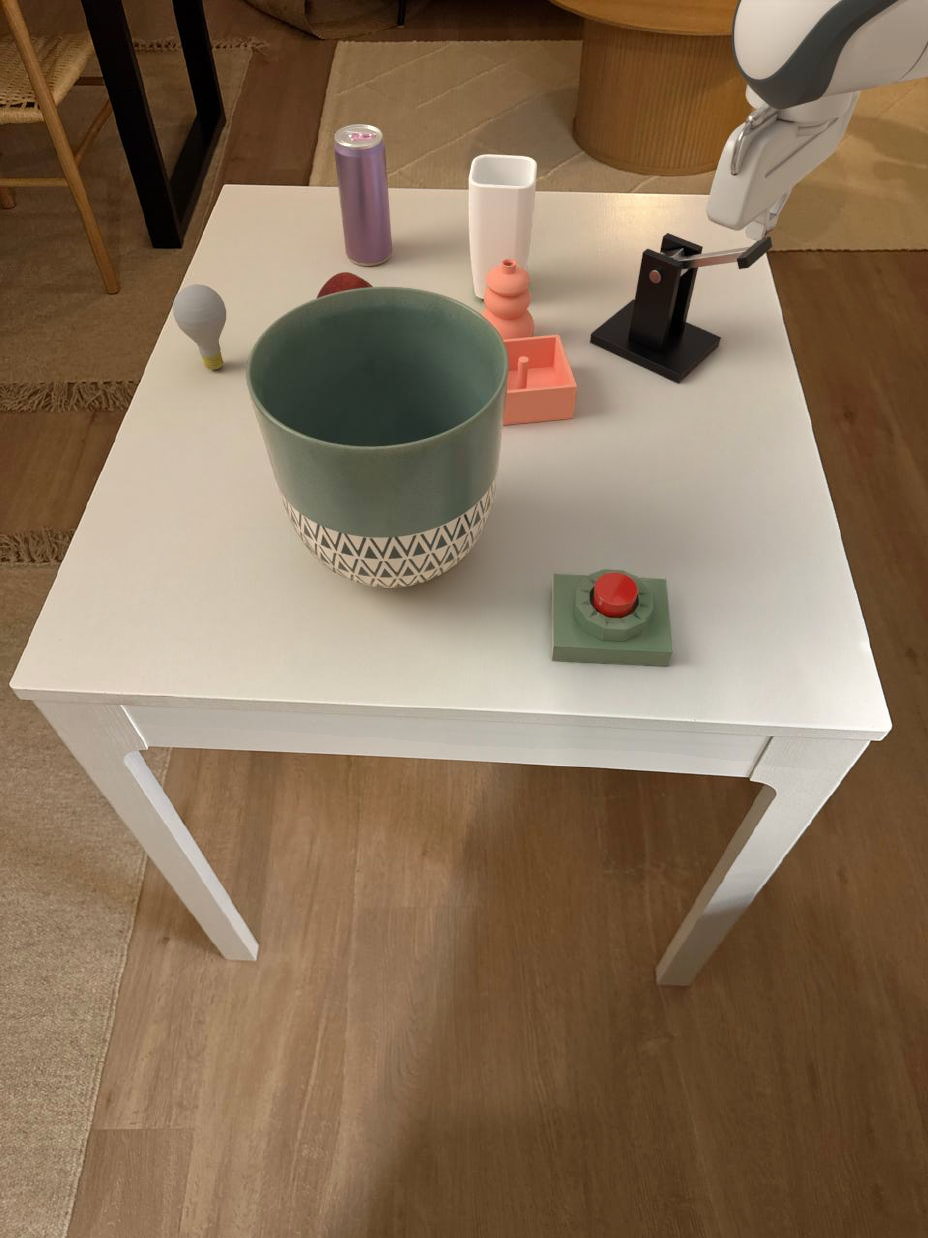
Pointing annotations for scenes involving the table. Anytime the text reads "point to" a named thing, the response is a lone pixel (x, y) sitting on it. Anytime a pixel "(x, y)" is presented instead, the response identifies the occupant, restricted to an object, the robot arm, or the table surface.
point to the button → (615, 594)
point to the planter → (383, 428)
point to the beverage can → (363, 193)
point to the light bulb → (202, 320)
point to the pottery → (528, 352)
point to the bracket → (660, 317)
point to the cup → (500, 213)
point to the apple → (343, 284)
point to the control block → (610, 623)
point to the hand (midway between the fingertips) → (759, 232)
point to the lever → (722, 256)
